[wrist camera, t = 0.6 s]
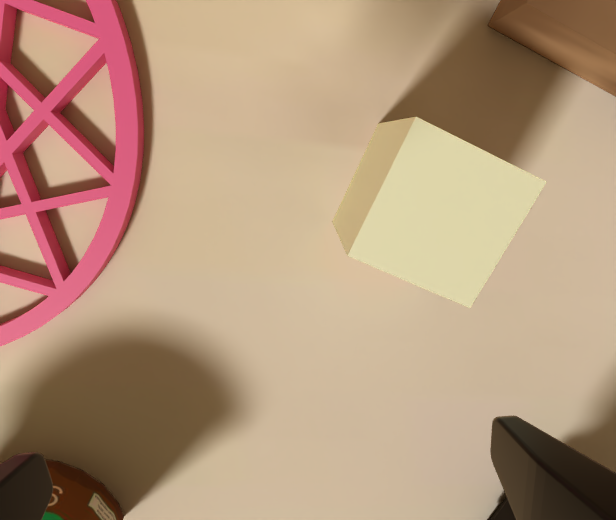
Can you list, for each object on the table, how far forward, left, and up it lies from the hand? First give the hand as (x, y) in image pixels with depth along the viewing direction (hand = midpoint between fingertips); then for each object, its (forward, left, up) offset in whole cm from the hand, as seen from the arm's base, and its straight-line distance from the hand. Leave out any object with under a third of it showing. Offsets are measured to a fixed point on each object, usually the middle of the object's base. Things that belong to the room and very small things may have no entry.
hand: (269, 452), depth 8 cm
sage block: (-4, -5, -13) cm, 14 cm away
